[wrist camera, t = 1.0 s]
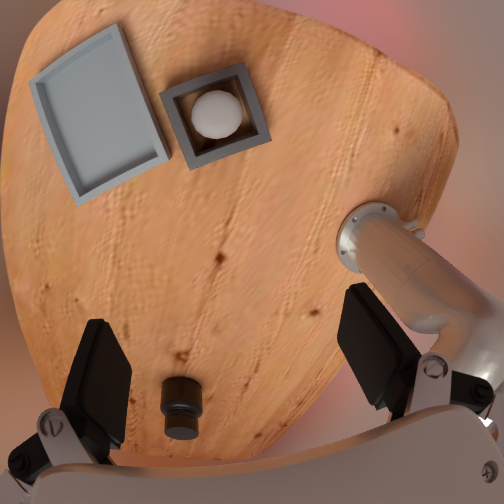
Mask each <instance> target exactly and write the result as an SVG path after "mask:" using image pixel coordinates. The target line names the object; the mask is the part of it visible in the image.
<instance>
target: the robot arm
mask: <svg viewBox="0 0 504 504" xmlns="http://www.w3.org/2000/svg"><path fill="white" fill-rule="evenodd" d="M417 226H418V221H417V219H412V220H410V221H408V222H404V221H402V220H401V218H400V216H399V214H398V213H397V211H396V210H395V209H393V208H392V207H391V206H389V205H387V204H385V203H382V202H369V203H366V204H363V205H361V206H360V207H358V208H356V209H355V210H354V211H353V212H351V213H350V214H349V215H348V217H347V218H346V219H345V220H344V222H343V224H342V225H341V227H340V230H339V232H338V236H337V241H336V249H337V254H338V257H339V259H340V261H341V262H342V264H343V265H344V266H345V267H346V268H347V269H349V270H350V271H352V272H355V273H360V274H361V273H363V274H364V275H365V276H366V277H367V279H368V280H369V281H370V282H371V283H372V285H373V286H374V287H375V288H376V290H377V291H378V292H379V293H380V295H381V296H382V297H383V298H384V299H385V301H386V302H387V303H388V304H389V305H390V307H391V308H392V310H393V311H394V312H395V313H396V314H397V316H398V317H399V318H400V320H401V321H402V322H403V323H404V324H405V325H406V326H407V327H408V328H409V329H411V330H413V331H415V332H418V333H423V334H439V336H438V339H437V341H436V342H435V343H434V345H433V346H432V347H431V348H430V350H429V352H428V353H426V354H424V355H421V354H420V352H419V351H418V349H417V348H416V347H415V345H414V344H413V343H412V341H411V340H410V339H409V337H408V336H407V335H406V333H405V332H404V331H403V329H402V328H401V327H400V326H399V324H398V323H397V322H396V320H395V319H394V318H393V316H392V315H391V314H390V313H389V312H388V310H387V309H386V308H385V306H384V305H383V304H382V303H381V301H380V300H379V299H378V298H377V296H376V295H375V294H374V293H373V292H372V290H371V289H370V288H369V287H368V285H367V284H366V283H364V282H362V283H357V284H352V285H350V287H349V289H347V290H346V293H345V298H344V304H343V309H342V314H341V319H340V324H339V329H338V334H337V341H338V344H339V346H340V348H341V350H342V352H343V353H344V355H345V357H346V359H347V361H348V363H349V365H350V366H351V368H352V370H353V372H354V374H355V376H356V378H357V380H358V382H359V384H360V386H361V388H362V390H363V392H364V394H365V395H366V398H367V400H368V402H369V403H370V404H371V405H374V406H375V408H376V410H379V409H382V408H384V407H387V408H388V410H389V411H390V413H389V417H388V420H387V423H386V424H384V425H382V426H379V427H377V428H374V429H371V430H369V431H366V432H363V433H360V434H358V435H355V436H352V437H350V438H346V439H343V440H340V441H337V442H334V443H331V444H327V445H323V446H320V447H316V448H313V449H309V450H305V451H301V452H297V453H292V454H288V455H284V456H279V457H274V458H268V459H263V460H257V461H250V462H244V463H236V464H228V465H217V466H205V467H186V468H150V467H128V466H117V465H116V464H115V463H114V462H113V460H112V459H111V457H110V456H109V452H110V449H116V450H120V447H121V444H122V443H124V438H125V426H126V416H127V407H128V398H129V390H130V383H131V376H132V369H131V365H130V363H129V362H128V360H127V358H126V356H125V354H124V352H123V351H122V349H121V347H120V345H119V343H118V341H117V339H116V337H115V335H114V333H113V331H112V329H111V327H110V325H109V323H108V322H105V321H104V319H90V320H89V321H88V322H87V325H86V328H85V330H84V333H83V336H82V338H81V341H80V344H79V347H78V350H77V353H76V355H75V357H74V360H73V363H72V366H71V369H70V373H69V376H68V379H67V382H66V386H65V389H64V393H63V397H62V400H61V404H60V408H59V409H57V408H49V409H47V410H45V411H44V412H42V413H41V415H40V416H39V418H38V420H37V433H36V434H34V435H33V436H31V437H30V438H29V439H27V440H26V441H25V442H23V443H22V444H21V445H19V446H18V447H16V448H15V449H14V450H13V451H12V452H11V453H10V455H9V458H8V467H9V470H7V469H5V470H4V472H3V473H2V475H1V476H0V504H504V302H502V301H501V300H499V299H498V298H496V297H495V296H493V295H492V294H490V293H488V292H487V291H485V290H484V289H483V288H481V287H480V286H478V285H477V284H476V283H474V282H473V281H471V280H470V279H469V278H468V277H466V276H465V275H464V274H463V273H461V272H460V271H459V270H458V269H456V268H455V267H454V266H453V265H452V264H450V263H449V262H448V261H447V260H445V259H444V258H443V257H442V256H440V255H439V254H438V253H437V252H435V251H434V250H433V249H432V248H430V247H429V246H428V245H427V244H425V243H424V242H423V241H421V239H423V238H424V236H425V234H424V231H423V229H422V228H418V229H416V230H414V231H412V232H409V229H412V228H415V227H417Z"/></svg>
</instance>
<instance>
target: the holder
mask: <svg viewBox="0 0 504 504" xmlns="http://www.w3.org/2000/svg"><path fill="white" fill-rule="evenodd" d="M232 79H235V82H236V84H237V87H238V90H239V92H240V95H241V98H242V101H243V103H244V106H245V109H246V112H247V114H248V117H249V120H250V123H251V126H252V129H253V131H254V132H253V133H250V134H247V135H244V136H242V137H239V138H236V139H233V140H230V141H227V142H225V143H222V144H219V145H217V146H214V147H211V148H209V149H206V150H204V151H201V152H198V153H197V151H196V148H195V146H194V143H193V140H192V138H191V135H190V133H189V130H188V128H187V125H186V123H185V120H184V118H183V115H182V113H181V110H180V107H179V105H178V102H177V99H180V98H182V97H185V96H187V95H190V94H192V93H195V92H198V91H200V90H203V89H206V88H208V87H211V86H214V85H217V84H220V83H223V82H226V81H229V80H232ZM159 95H160V97H161V100H162V103H163V105H164V108H165V110H166V113H167V115H168V118H169V120H170V123H171V125H172V128H173V130H174V133H175V135H176V138H177V140H178V143H179V145H180V148H181V150H182V153H183V155H184V157H185V160H186V162H187V165H188V167H189V170H190V171H191V170H193V169H195V168H198V167H200V166H203V165H205V164H208V163H211V162H213V161H216V160H218V159H221V158H224V157H227V156H229V155H232V154H235V153H238V152H240V151H243V150H246V149H249V148H252V147H255V146H258V145H261V144H264V143H267V142H270V141H272V139H271V136H270V133H269V130H268V127H267V124H266V121H265V118H264V115H263V112H262V109H261V106H260V104H259V101H258V98H257V95H256V92H255V90H254V87H253V84H252V81H251V79H250V76H249V73H248V70H247V68H246V65H245V63H244V62H243V63H239V64H236V65H233V66H229V67H226V68H223V69H220V70H217V71H214V72H211V73H208V74H205V75H202V76H200V77H197V78H194V79H192V80H189V81H186V82H184V83H181V84H179V85H176V86H174V87H172V88H169V89H167V90H165V91H162V92H160V93H159Z"/></svg>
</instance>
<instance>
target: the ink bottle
mask: <svg viewBox="0 0 504 504" xmlns="http://www.w3.org/2000/svg"><path fill="white" fill-rule="evenodd" d="M160 409H161V412H162V413H163V415H165V430H164V431H165V434H166V435H167V436H168V437H170V438H173V439H177V440H191V439H195V438H196V437H198V434H199V431H198V418H199V417H200V416H201V415H202V413H203V404H202V389H201V387H200V385H199V384H198V383H196V382H195V381H193V380H191V379H188V378H172V379H169V380H167V381H165V382H164V383H163V385H162V391H161V404H160Z"/></svg>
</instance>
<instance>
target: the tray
mask: <svg viewBox="0 0 504 504" xmlns="http://www.w3.org/2000/svg"><path fill="white" fill-rule="evenodd" d="M29 86H30V89H31V93H32V96H33V99H34V103H35V106H36V109H37V112H38V115H39V118H40V121H41V124H42V127H43V129H44V132H45V135H46V137H47V140H48V143H49V145H50V148H51V150H52V153H53V155H54V157H55V160H56V162H57V165H58V167H59V169H60V171H61V174H62V176H63V178H64V180H65V182H66V185H67V187H68V189H69V191H70V193H71V195H72V197H73V199H74V201H75V203H76V205H77V207H79V206H80V205H82V204H84V203H85V202H87V201H89V200H91V199H93V198H94V197H96V196H98V195H100V194H102V193H103V192H105V191H107V190H109V189H111V188H113V187H115V186H117V185H119V184H121V183H123V182H125V181H126V180H128V179H131V178H133V177H135V176H137V175H139V174H141V173H143V172H145V171H147V170H149V169H151V168H154V167H156V166H158V165H160V164H162V163H165V162H167V161H169V160H170V159H171V158H172V155H171V153H170V151H169V148H168V146H167V143H166V141H165V138H164V136H163V134H162V131H161V129H160V126H159V124H158V121H157V119H156V116H155V114H154V111H153V109H152V106H151V104H150V101H149V98H148V96H147V93H146V91H145V88H144V85H143V83H142V80H141V78H140V75H139V72H138V70H137V67H136V64H135V61H134V59H133V56H132V53H131V51H130V48H129V45H128V42H127V39H126V37H125V34H124V31H123V29H122V28H121V27H120V26H119V25H118V24H117V23H115V24H113V25H111V26H110V27H108V28H106V29H104V30H102V31H101V32H99V33H97V34H95V35H94V36H92V37H90V38H89V39H87V40H85V41H84V42H82V43H80V44H79V45H77V46H76V47H74V48H73V49H71V50H70V51H68V52H67V53H65V54H64V55H63V56H61V57H60V58H58V59H57V60H56V61H54V62H53V63H51V64H50V65H49V66H48V67H46V68H45V69H44V70H42V71H41V72H40V73H39V74H37V75H36V76H35V77H34V78H33V79H31V80H30V81H29Z"/></svg>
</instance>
